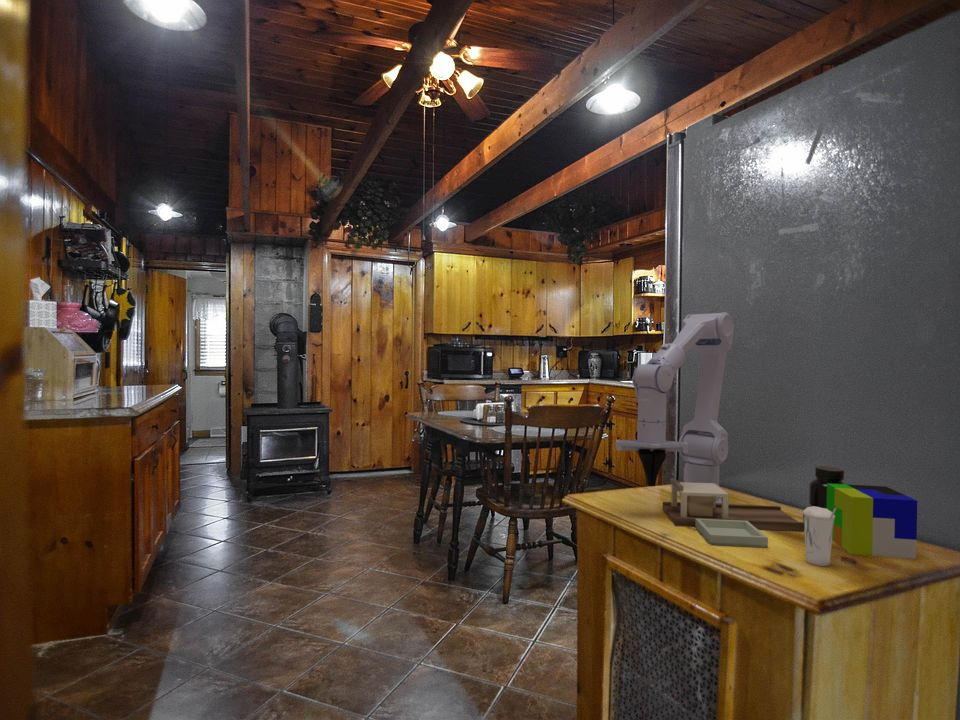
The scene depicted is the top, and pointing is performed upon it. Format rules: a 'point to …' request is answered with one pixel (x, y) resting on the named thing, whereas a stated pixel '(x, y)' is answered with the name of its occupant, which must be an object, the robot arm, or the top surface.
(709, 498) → the maple block
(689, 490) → the cover
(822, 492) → the supplement bottle
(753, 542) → the sage tray
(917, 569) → the top surface
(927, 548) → the top surface
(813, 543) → the milkshake
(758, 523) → the board
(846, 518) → the puzzle toy
